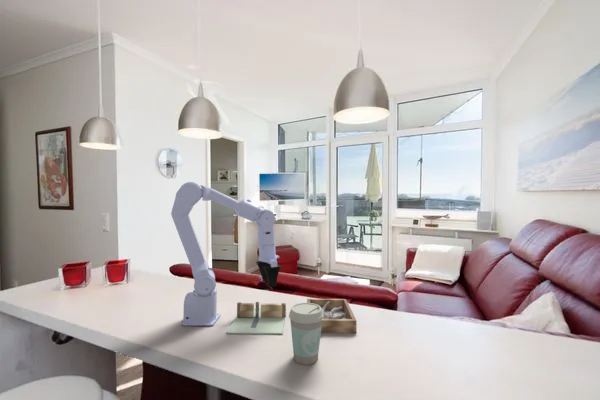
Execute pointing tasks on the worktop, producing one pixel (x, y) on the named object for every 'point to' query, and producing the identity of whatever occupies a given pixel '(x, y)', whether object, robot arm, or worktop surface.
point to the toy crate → (336, 324)
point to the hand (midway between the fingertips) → (269, 283)
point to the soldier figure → (330, 314)
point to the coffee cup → (306, 331)
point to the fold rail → (273, 310)
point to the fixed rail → (247, 310)
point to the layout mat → (257, 325)
